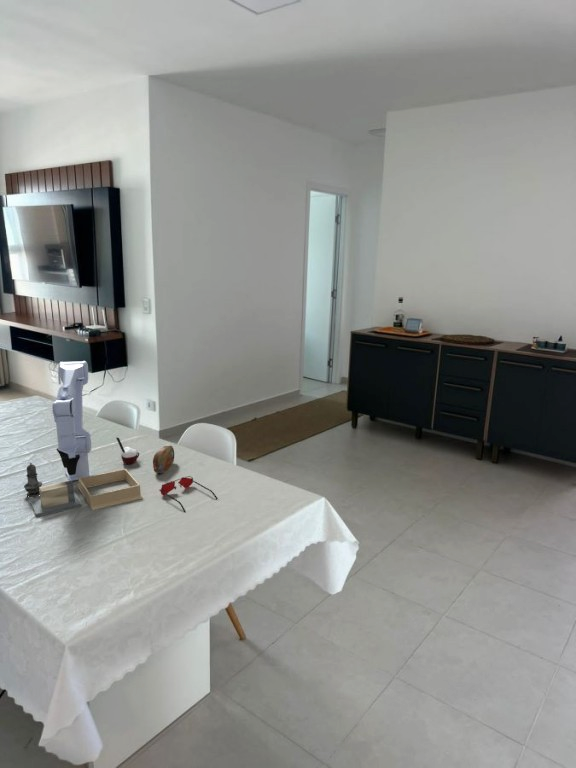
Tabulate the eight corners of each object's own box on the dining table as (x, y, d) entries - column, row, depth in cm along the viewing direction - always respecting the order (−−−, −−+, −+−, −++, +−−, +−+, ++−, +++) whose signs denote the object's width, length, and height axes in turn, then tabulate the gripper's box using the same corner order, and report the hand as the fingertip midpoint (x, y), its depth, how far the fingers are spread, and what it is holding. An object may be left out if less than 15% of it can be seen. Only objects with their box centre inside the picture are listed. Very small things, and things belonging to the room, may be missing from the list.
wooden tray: (77, 486, 193) (76, 475, 192) (124, 476, 203) (123, 466, 202) (92, 510, 176) (91, 499, 175) (143, 498, 185) (142, 487, 184)
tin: (159, 477, 203) (158, 456, 201) (152, 476, 203) (150, 455, 201) (175, 462, 217) (174, 442, 215) (168, 461, 217) (167, 442, 215)
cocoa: (138, 459, 220) (138, 431, 218) (141, 464, 214) (141, 436, 212) (114, 462, 215) (114, 434, 213) (117, 467, 210) (116, 438, 208)
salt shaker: (46, 492, 188) (43, 460, 185) (34, 499, 183) (30, 466, 180) (33, 489, 190) (30, 458, 187) (21, 496, 185) (17, 464, 182)
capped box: (40, 503, 178) (39, 487, 176) (72, 496, 183) (70, 480, 182) (43, 508, 174) (41, 491, 173) (74, 501, 180) (73, 484, 178)
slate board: (31, 504, 179) (31, 501, 179) (74, 494, 186) (74, 492, 186) (36, 516, 171) (35, 514, 171) (81, 506, 178) (81, 503, 178)
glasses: (192, 485, 196) (191, 473, 195) (218, 500, 185) (218, 487, 184) (158, 497, 187) (158, 483, 186) (184, 513, 175) (184, 499, 174)
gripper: (83, 437, 177) (86, 475, 180) (73, 426, 188) (77, 461, 192) (60, 441, 173) (64, 480, 176) (52, 429, 185) (56, 465, 188)
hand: (69, 470), depth 184 cm, fingers open, 7 cm apart
